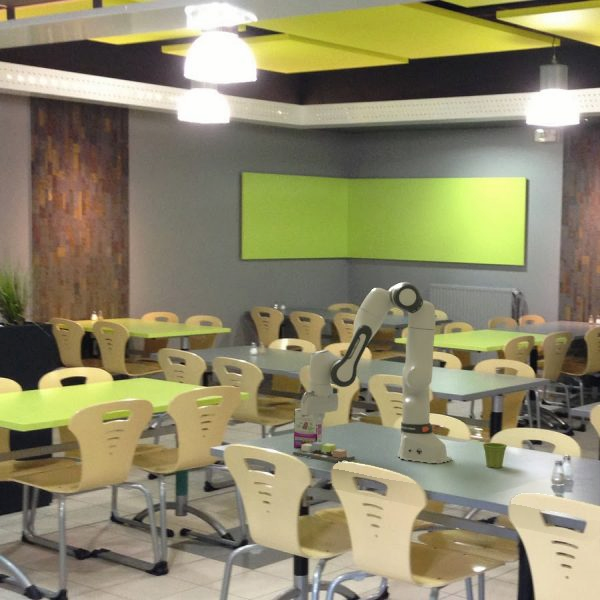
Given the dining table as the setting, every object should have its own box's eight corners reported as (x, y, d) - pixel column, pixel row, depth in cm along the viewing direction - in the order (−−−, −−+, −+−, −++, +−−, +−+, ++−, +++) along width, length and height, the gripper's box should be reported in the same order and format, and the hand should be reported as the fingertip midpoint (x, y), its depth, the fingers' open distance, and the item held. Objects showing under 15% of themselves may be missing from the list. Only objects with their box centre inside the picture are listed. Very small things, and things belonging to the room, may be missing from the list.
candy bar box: (322, 448, 471) (323, 409, 470) (316, 450, 466) (317, 411, 465) (298, 445, 476) (299, 407, 475) (293, 447, 471) (293, 408, 470)
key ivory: (314, 453, 458) (315, 444, 458) (308, 454, 455) (308, 445, 455) (307, 451, 460) (307, 443, 460) (301, 453, 457) (301, 444, 457)
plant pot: (477, 464, 442) (478, 443, 442) (498, 463, 446) (499, 442, 445) (489, 469, 434) (490, 447, 433) (510, 468, 437) (511, 446, 436)
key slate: (325, 451, 454) (325, 443, 454) (319, 452, 451) (319, 444, 451) (317, 450, 457) (318, 441, 457) (311, 451, 454) (311, 442, 454)
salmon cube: (346, 459, 447) (346, 450, 447) (340, 460, 444) (340, 451, 444) (338, 457, 450) (338, 449, 450) (332, 459, 447) (332, 450, 447)
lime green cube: (335, 453, 451) (336, 444, 450) (329, 454, 448) (329, 446, 447) (328, 452, 453) (328, 443, 453) (321, 453, 450) (322, 444, 450)
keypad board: (354, 459, 449) (354, 455, 449) (337, 462, 441) (337, 459, 440) (310, 451, 464) (310, 447, 464) (292, 454, 456) (293, 450, 456)
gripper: (309, 393, 443) (308, 428, 443) (341, 388, 458) (340, 422, 459) (296, 391, 447) (296, 425, 448) (329, 387, 462) (328, 420, 463)
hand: (318, 424), depth 453 cm, fingers closed
